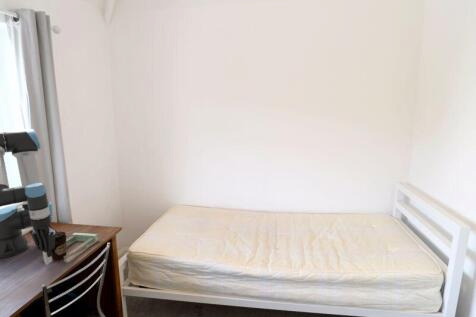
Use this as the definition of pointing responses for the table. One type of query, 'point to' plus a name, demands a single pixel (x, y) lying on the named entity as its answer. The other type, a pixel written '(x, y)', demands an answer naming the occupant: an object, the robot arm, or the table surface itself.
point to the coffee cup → (59, 247)
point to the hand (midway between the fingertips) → (48, 262)
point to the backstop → (84, 236)
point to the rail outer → (79, 250)
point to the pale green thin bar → (69, 242)
